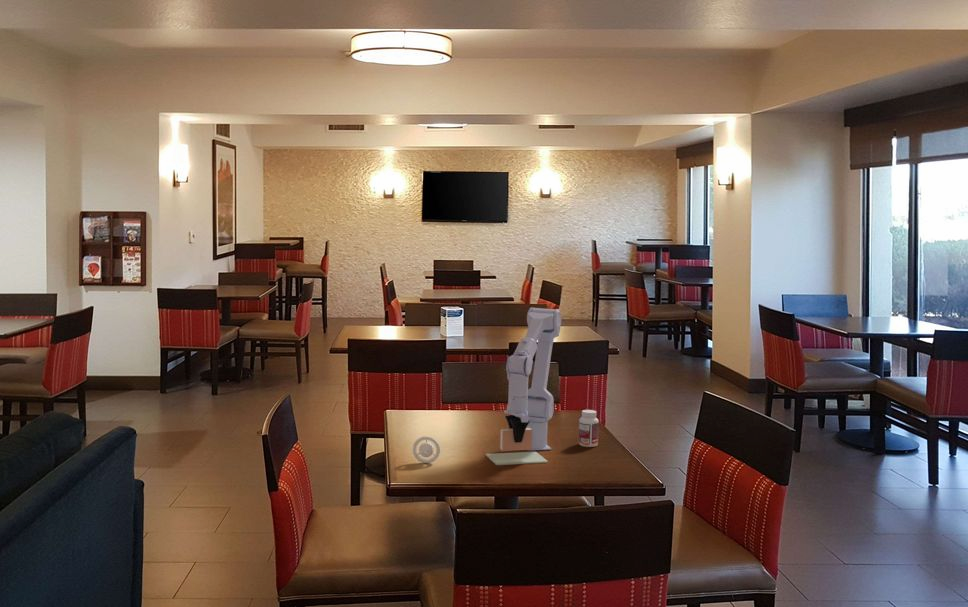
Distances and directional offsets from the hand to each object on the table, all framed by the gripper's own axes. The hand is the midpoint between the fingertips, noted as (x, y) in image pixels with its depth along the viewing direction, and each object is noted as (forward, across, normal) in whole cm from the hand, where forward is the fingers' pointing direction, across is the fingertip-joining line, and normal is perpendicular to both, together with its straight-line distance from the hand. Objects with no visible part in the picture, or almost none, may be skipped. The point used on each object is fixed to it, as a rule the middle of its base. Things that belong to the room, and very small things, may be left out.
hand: (516, 440), depth 266 cm
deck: (+2, 0, 0) cm, 3 cm away
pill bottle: (+6, -14, +29) cm, 33 cm away
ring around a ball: (+6, -2, -27) cm, 28 cm away
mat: (+6, -2, +1) cm, 7 cm away
